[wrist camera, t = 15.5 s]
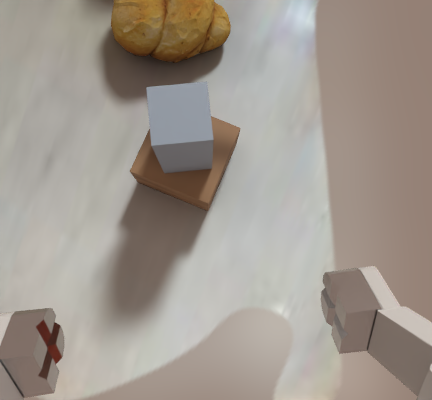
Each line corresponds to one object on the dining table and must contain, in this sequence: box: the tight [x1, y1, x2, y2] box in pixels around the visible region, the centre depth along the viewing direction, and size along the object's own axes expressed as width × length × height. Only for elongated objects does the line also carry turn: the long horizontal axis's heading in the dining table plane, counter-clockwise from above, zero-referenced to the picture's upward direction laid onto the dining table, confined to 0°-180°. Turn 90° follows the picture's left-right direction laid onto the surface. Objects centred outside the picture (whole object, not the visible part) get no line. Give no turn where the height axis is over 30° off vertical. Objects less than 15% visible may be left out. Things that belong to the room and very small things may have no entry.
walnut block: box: [130, 116, 240, 211], centre depth 41 cm, size 8×8×5 cm
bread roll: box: [111, 0, 230, 63], centre depth 42 cm, size 13×10×8 cm
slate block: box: [146, 82, 213, 173], centre depth 34 cm, size 4×4×9 cm
